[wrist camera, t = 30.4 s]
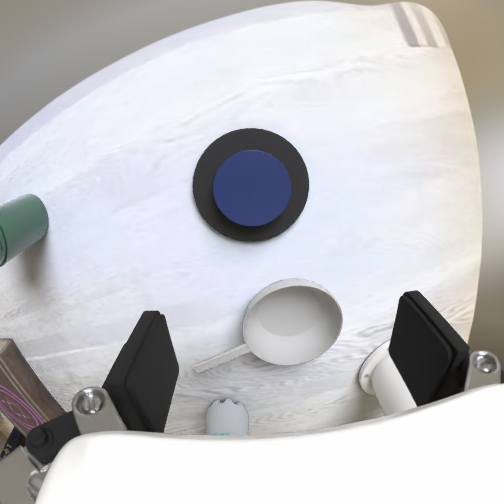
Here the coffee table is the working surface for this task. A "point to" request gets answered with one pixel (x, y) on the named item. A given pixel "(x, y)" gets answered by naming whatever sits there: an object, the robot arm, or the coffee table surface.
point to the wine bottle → (13, 442)
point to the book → (23, 391)
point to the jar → (21, 225)
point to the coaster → (234, 144)
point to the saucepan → (286, 325)
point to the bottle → (227, 418)
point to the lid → (252, 188)
